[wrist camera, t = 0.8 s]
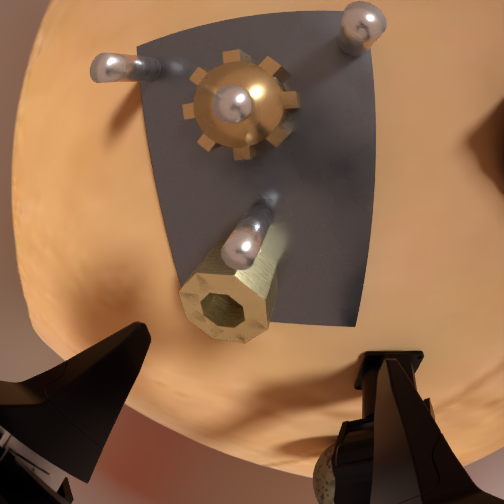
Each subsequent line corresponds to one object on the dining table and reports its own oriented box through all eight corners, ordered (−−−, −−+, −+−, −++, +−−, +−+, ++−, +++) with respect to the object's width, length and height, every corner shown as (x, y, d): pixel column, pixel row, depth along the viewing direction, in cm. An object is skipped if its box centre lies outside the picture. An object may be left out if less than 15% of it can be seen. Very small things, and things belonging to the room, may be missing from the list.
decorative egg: (394, 434, 32) (389, 514, 20) (353, 452, 38) (344, 519, 26) (344, 424, 32) (332, 515, 20) (307, 442, 38) (291, 516, 26)
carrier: (354, 318, 22) (356, 375, 17) (192, 305, 26) (165, 350, 21) (362, 17, 11) (379, -19, 6) (144, 48, 14) (87, 41, 9)
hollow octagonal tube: (278, 309, 22) (269, 346, 19) (210, 302, 23) (192, 335, 20) (275, 244, 19) (263, 277, 16) (196, 241, 21) (172, 270, 17)
